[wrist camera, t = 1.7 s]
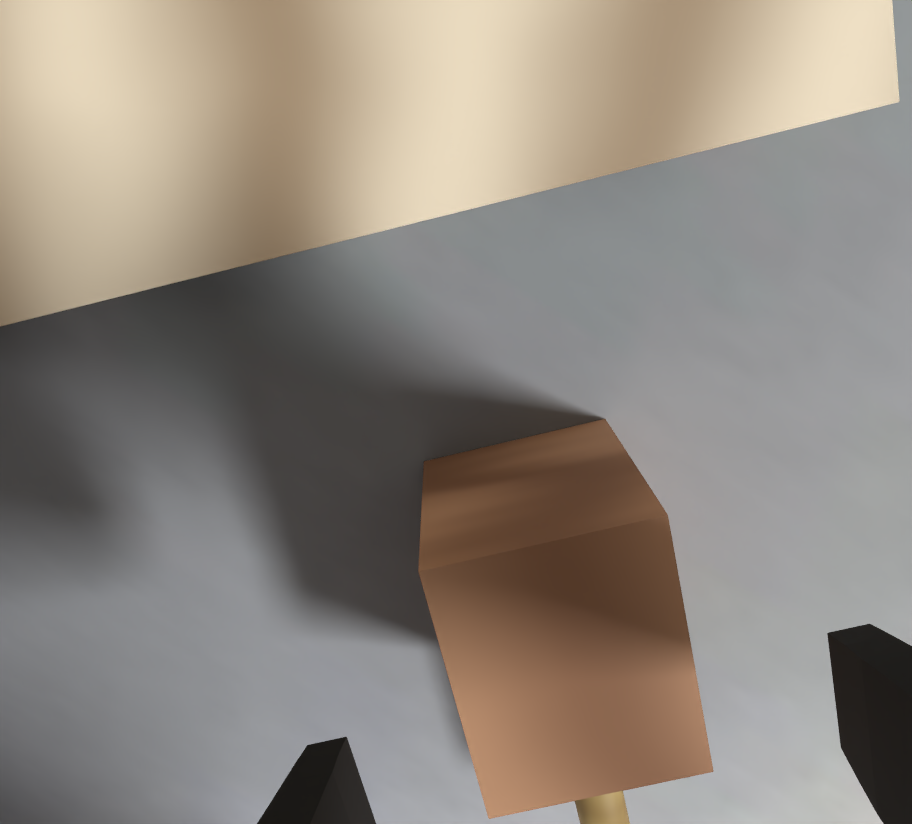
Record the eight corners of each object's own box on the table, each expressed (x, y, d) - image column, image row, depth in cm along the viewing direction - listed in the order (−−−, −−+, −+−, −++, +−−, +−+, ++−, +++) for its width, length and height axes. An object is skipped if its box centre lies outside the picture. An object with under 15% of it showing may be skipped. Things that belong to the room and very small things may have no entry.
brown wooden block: (512, 788, 20) (535, 983, 15) (423, 460, 18) (418, 571, 13) (670, 755, 20) (743, 941, 15) (604, 418, 17) (667, 514, 13)
